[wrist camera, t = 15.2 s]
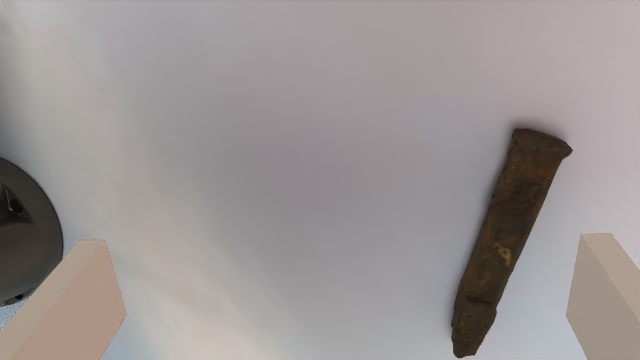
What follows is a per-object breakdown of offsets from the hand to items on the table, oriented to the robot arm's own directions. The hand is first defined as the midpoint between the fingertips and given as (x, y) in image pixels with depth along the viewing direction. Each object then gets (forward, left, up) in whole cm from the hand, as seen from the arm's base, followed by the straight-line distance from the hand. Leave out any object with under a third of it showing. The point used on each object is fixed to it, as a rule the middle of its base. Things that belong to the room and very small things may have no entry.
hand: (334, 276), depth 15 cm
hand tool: (+10, -9, -27) cm, 30 cm away
